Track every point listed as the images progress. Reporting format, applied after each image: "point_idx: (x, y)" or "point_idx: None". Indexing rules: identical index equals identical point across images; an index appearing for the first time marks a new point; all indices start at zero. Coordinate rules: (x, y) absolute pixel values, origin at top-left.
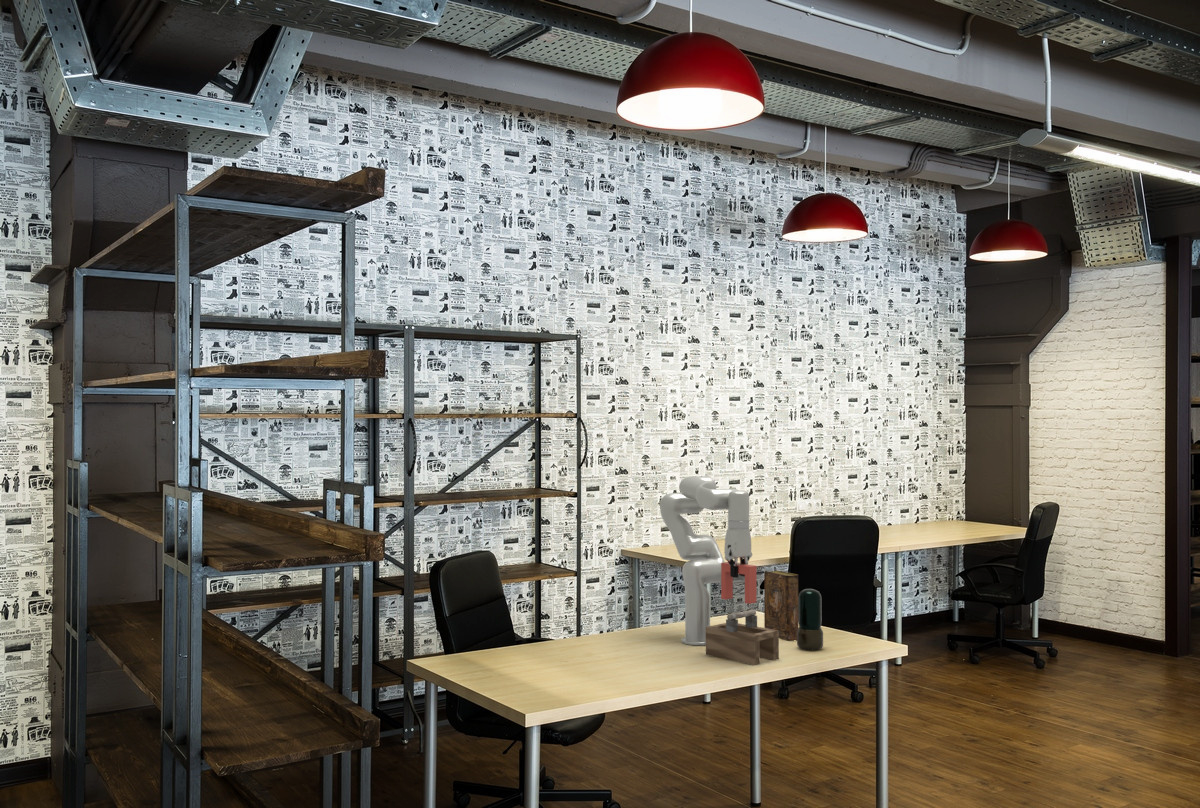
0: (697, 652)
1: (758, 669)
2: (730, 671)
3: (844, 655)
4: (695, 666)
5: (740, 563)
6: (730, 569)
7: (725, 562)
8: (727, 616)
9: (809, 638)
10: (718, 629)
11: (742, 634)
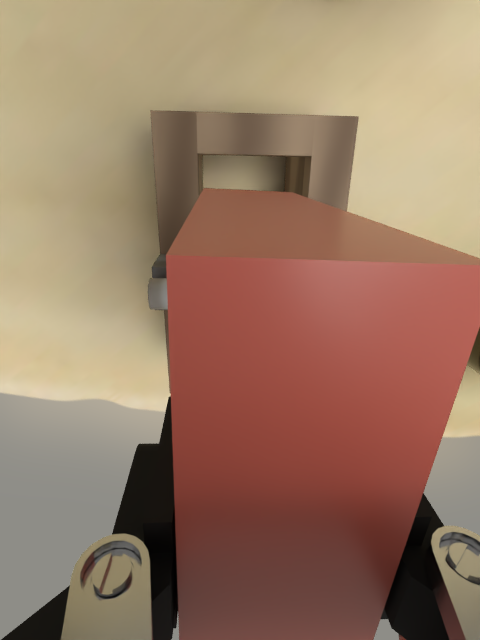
0: (176, 65)
1: (150, 378)
2: (65, 343)
3: (448, 426)
4: (10, 226)
5: (392, 569)
6: (157, 462)
7: (309, 301)
8: (149, 282)
9: (470, 363)
10: (157, 205)
11: (166, 340)
